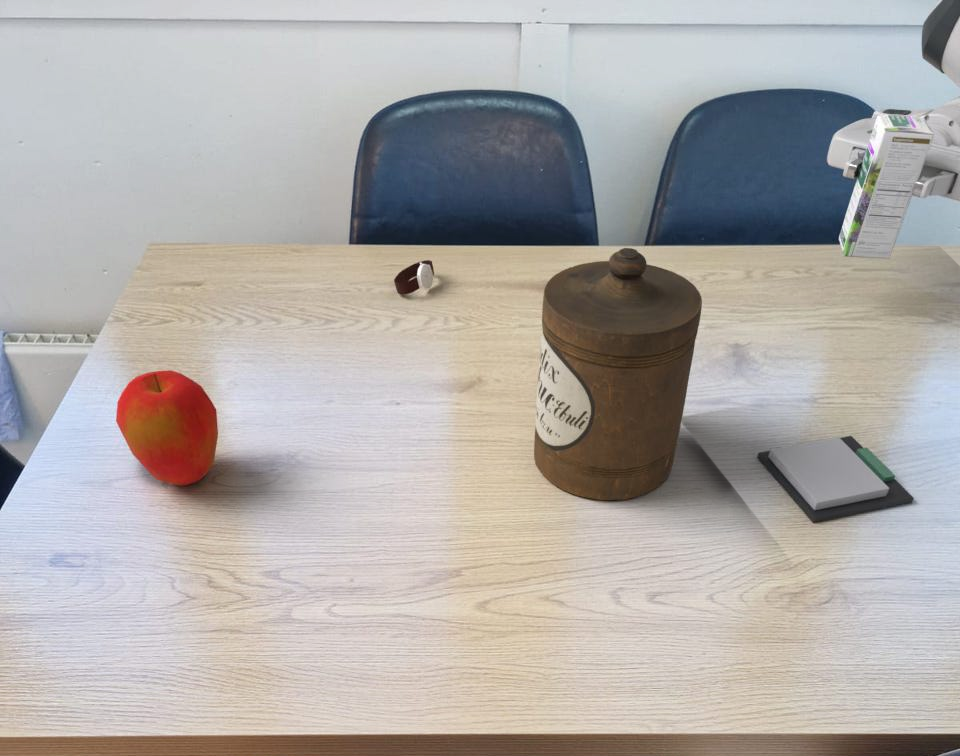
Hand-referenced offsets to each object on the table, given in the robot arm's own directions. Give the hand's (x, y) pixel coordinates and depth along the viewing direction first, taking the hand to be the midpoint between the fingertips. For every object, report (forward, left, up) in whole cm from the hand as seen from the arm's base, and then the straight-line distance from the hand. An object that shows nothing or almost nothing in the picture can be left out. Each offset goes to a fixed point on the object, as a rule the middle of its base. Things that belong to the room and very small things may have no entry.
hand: (883, 180), depth 103 cm
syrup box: (-1, 0, -9) cm, 9 cm away
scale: (+23, +34, -16) cm, 44 cm away
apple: (+86, +13, -16) cm, 89 cm away
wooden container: (+43, +22, -16) cm, 51 cm away
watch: (+53, -22, -16) cm, 60 cm away
